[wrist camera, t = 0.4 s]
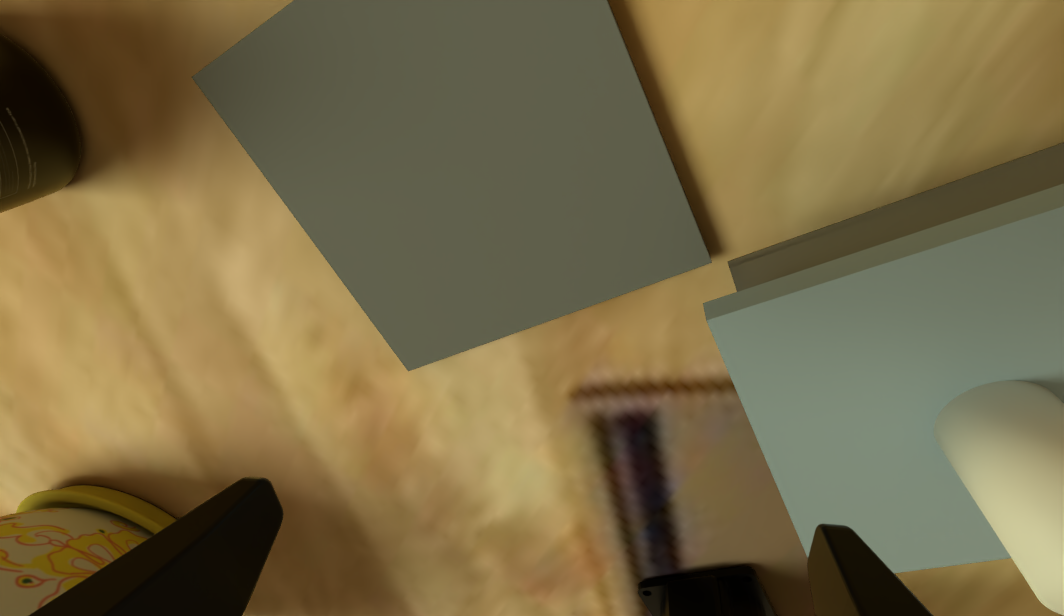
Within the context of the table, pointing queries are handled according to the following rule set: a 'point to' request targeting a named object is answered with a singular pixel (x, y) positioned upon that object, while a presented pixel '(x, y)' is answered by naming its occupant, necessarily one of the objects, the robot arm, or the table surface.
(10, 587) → the flowerpot
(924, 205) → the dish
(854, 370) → the lid
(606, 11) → the mat
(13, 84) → the supplement bottle
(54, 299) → the table surface
